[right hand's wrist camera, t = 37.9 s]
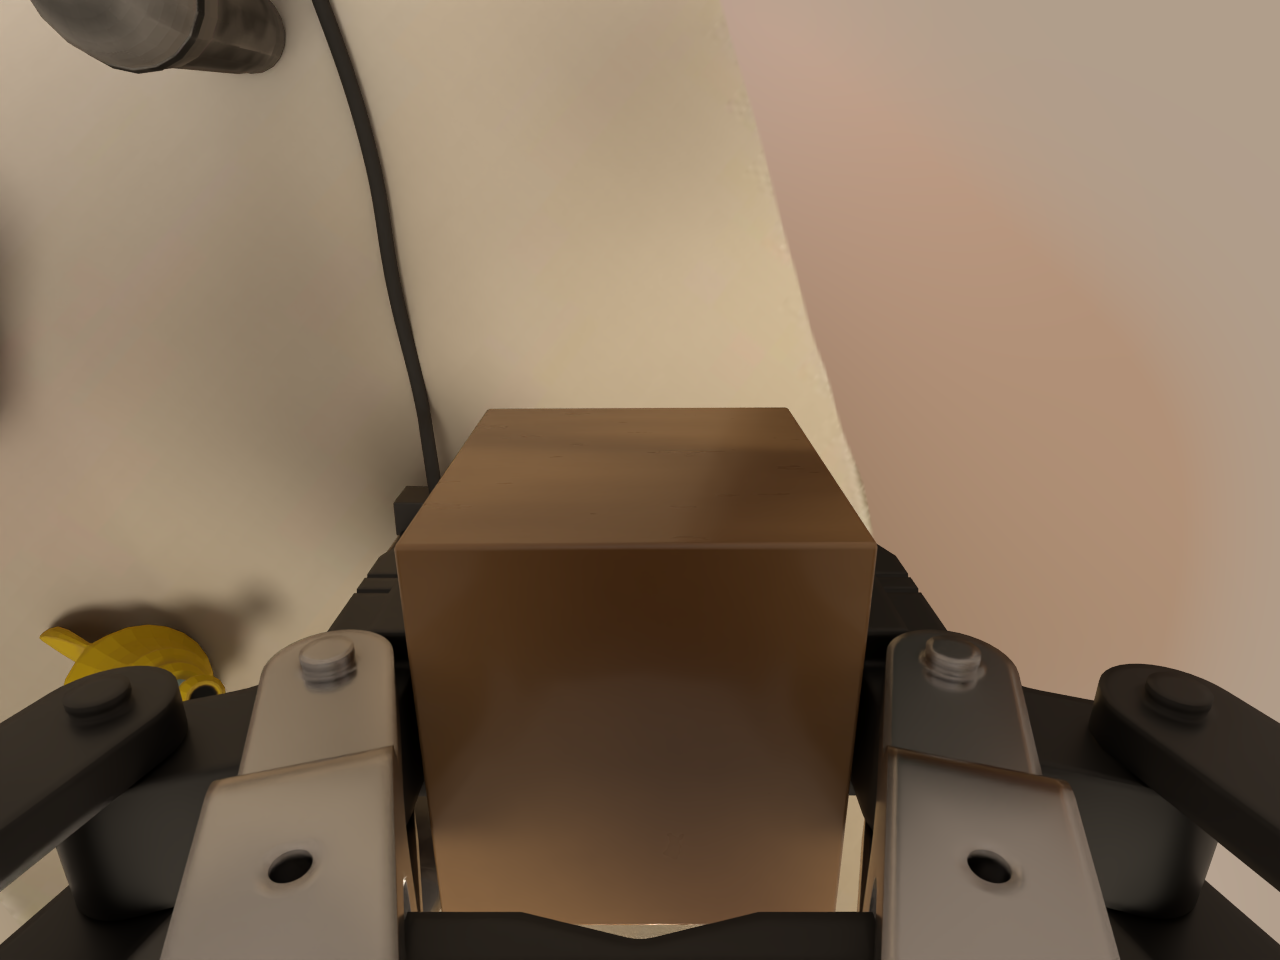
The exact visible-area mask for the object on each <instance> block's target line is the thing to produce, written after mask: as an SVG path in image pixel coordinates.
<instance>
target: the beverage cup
mask: <svg viewBox="0 0 1280 960" xmlns="http://www.w3.org/2000/svg"><path fill="white" fill-rule="evenodd" d="M31 2H32V3H33V5H34V6H35V8H36V9H37V11H38V13H39V14H40V16H41V17H42V18H43V19H44V20H45V21H46V22H47V23H48V24H49V25H50V26H51V27H52V28H53V29H54V30H55V31H57V32H58V33H59V34H60V35H61V36H62V37H63V38H64V39H65V40H66V41H67V42H68V43H70V44H71V45H73V46H75V47H76V48H78V49H80V50H82V51H84V52H85V53H87V54H88V55H90V56H92V57H94V58H95V59H97V60H99V61H101V62H103V63H104V64H106V65H108V66H110V67H112V68H114V69H119V70H123V71H128V72H133V73H137V74H140V73H147V72H154V71H162V70H164V69H169V68H178V69H189V70H200V71H211V72H222V73H233V74H243V73H250V74H253V73H261V72H264V71H266V70H268V69H269V68H271V67H273V66H274V64H275V63H276V62H277V61H278V59H279V58H280V56H281V54H282V51H283V48H284V38H285V32H284V28H283V23H282V19H281V17H280V15H279V13H278V12H277V10H276V8H275V6H274V5H273V4H272V3H271V2H270V1H269V0H31Z"/></svg>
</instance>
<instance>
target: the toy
mask: <svg viewBox="0 0 1280 960" xmlns="http://www.w3.org/2000/svg"><path fill="white" fill-rule="evenodd" d="M40 639H41V640H42V641H43V642H45V643H46V644H48V645H49V646H51V647H52V648H54V649H55V650H57V651H58V652H60V653H61V654H63V655H65V656H66V657H68V658H70V659H71V660H73V661H75V664H74V666H73V667H72V669H71V671H70V672H69V674H68V676H67V677H66V679H65V683H64V685H66V684H68V683H70V682H72V681H75V680H77V679H80V678H83V677H85V676H88V675H91V674H95V673H98V672H101V671H105V670H110V669H114V668H120V667H128V666H153V667H159V668H162V669H165V670H167V671H169V672H171V673H172V674H173V675H174V676H175V677H176V679H177V682H178V685H179V689H180V693H181V697H182V701H186V700H191V699H197V698H202V697H207V696H212V695H218V694H223V693H225V687H224V686H223V684H222V683H221V681H220V680H219V679H217V678H216V677H214V676H213V671H212V668H211V665H210V662H209V660H208V657H207V655H206V654H205V653H204V651H203V650H202V648H201V647H200V646H199V644H198V643H197V642H195V641H194V640H193V639H191V638H190V637H189V636H187V635H186V634H184V633H183V632H180V631H177V630H175V629H172V628H169V627H166V626H157V625H141V626H134V627H127V628H124V629H122V630H119V631H117V632H114V633H111V634H109V635H107V636H105V637H103V638H101V639H99V640H97V641H95V642H94V643H89V642H87V641H86V640H84V639H83V638H81V637H79V636H78V635H76V634H75V633H73V632H71V631H70V630H67V629H64V628H62V627H58V626H57V627H53V628H50V629H48V630H46V631H45V632H44V633H43V634H41V635H40Z"/></svg>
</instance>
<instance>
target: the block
mask: <svg viewBox="0 0 1280 960" xmlns="http://www.w3.org/2000/svg"><path fill="white" fill-rule="evenodd" d="M877 548H878V547H877V544H876V542H875V540H874V539H873V537H872V536H871V534H870V533H869V531H868V530H867V528H866V527H865V525H864V524H863V522H862V521H861V519H860V518H859V516H858V515H857V513H856V512H855V510H854V508H853V507H852V505H851V504H850V502H849V501H848V499H847V498H846V496H845V495H844V493H843V492H842V490H841V489H840V487H839V486H838V484H837V483H836V481H835V480H834V478H833V476H832V475H831V473H830V472H829V470H828V469H827V467H826V466H825V464H824V463H823V461H822V460H821V458H820V457H819V455H818V454H817V452H816V451H815V449H814V448H813V446H812V444H811V443H810V441H809V440H808V438H807V437H806V435H805V434H804V432H803V431H802V429H801V428H800V426H799V425H798V423H797V422H796V420H795V419H794V417H793V416H792V414H791V412H790V411H789V409H788V408H582V409H489V410H487V411H486V413H485V414H484V416H483V417H482V419H481V420H480V422H479V423H478V424H477V426H476V427H475V429H474V430H473V432H472V433H471V435H470V436H469V438H468V439H467V441H466V442H465V444H464V445H463V447H462V448H461V449H460V451H459V452H458V454H457V455H456V457H455V458H454V460H453V461H452V463H451V464H450V466H449V467H448V469H447V470H446V471H445V473H444V474H443V476H442V477H441V479H440V480H439V482H438V483H437V485H436V486H435V488H434V489H433V491H432V492H431V494H430V495H429V496H428V498H427V499H426V501H425V502H424V504H423V505H422V507H421V508H420V510H419V511H418V513H417V514H416V516H415V517H414V519H413V520H412V521H411V523H410V524H409V526H408V527H407V529H406V530H405V532H404V533H403V535H402V536H401V538H400V539H399V541H398V542H397V543H396V545H395V548H394V551H395V559H396V567H397V574H398V582H399V589H400V597H401V605H402V612H403V620H404V627H405V635H406V643H407V650H408V658H409V666H410V673H411V681H412V688H413V696H414V704H415V711H416V719H417V726H418V734H419V742H420V749H421V757H422V765H423V772H424V780H425V787H426V795H427V803H428V810H429V818H430V825H431V833H432V841H433V848H434V856H435V864H436V871H437V879H438V886H439V894H440V902H441V909H442V912H524V913H528V914H532V915H537V916H541V917H545V918H549V919H553V920H557V921H561V922H565V923H569V924H573V925H707V924H711V923H715V922H719V921H723V920H727V919H731V918H735V917H739V916H743V915H748V914H752V913H756V912H835V910H836V901H837V892H838V884H839V875H840V866H841V858H842V849H843V841H844V832H845V823H846V815H847V806H848V798H849V789H850V780H851V772H852V763H853V754H854V746H855V737H856V729H857V720H858V711H859V703H860V694H861V685H862V677H863V668H864V660H865V651H866V642H867V634H868V625H869V617H870V608H871V599H872V591H873V582H874V573H875V565H876V556H877Z"/></svg>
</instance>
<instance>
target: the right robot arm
mask: <svg viewBox="0 0 1280 960" xmlns="http://www.w3.org/2000/svg"><path fill="white" fill-rule="evenodd" d="M312 2H313V5H314V8H315V10H316V13H317V15H318V18H319V21H320V23H321V26H322V29H323V31H324V34H325V37H326V40H327V42H328V45H329V48H330V50H331V53H332V56H333V59H334V62H335V65H336V67H337V70H338V73H339V76H340V79H341V82H342V85H343V88H344V91H345V94H346V98H347V101H348V104H349V107H350V111H351V114H352V117H353V121H354V125H355V128H356V132H357V135H358V139H359V143H360V147H361V151H362V155H363V159H364V163H365V167H366V171H367V176H368V180H369V185H370V190H371V196H372V201H373V207H374V213H375V220H376V227H377V233H378V240H379V246H380V253H381V259H382V265H383V270H384V276H385V281H386V286H387V290H388V295H389V300H390V304H391V308H392V313H393V317H394V321H395V325H396V329H397V333H398V337H399V340H400V344H401V348H402V352H403V356H404V360H405V364H406V367H407V371H408V375H409V380H410V384H411V388H412V392H413V397H414V402H415V406H416V411H417V416H418V423H419V430H420V437H421V444H422V450H423V457H424V463H425V470H426V476H427V483H428V487H422V486H407V487H406V488H405V489H404V490H403V491H402V493H401V494H400V495H399V497H398V498H397V499H396V500H395V502H394V513H395V523H396V533H397V535H398V537H397V538H396V540H395V541H394V542H393V544H392V545H391V547H390V548H389V550H388V551H387V552H386V553H385V554H383V555H381V556H380V557H379V558H378V560H377V561H376V563H375V564H374V566H373V567H372V568H371V570H370V571H369V573H368V574H367V578H364V580H363V581H362V583H361V584H360V586H359V587H358V588H357V593H354V594H353V596H352V597H351V598H350V600H349V601H348V603H347V604H346V606H345V607H344V608H343V610H342V611H341V613H340V614H339V616H338V617H337V618H336V620H335V621H334V623H333V624H332V626H331V627H330V628H329V630H328V631H327V632H324V633H319V634H316V635H312V636H309V637H306V638H304V639H301V640H299V641H296V642H294V643H292V644H290V645H288V646H287V647H285V648H283V649H282V650H280V651H279V652H278V653H276V654H275V655H274V656H273V657H272V658H271V659H270V660H269V661H268V662H267V664H266V665H265V666H264V668H263V671H262V673H261V677H260V681H259V685H257V686H254V687H250V688H247V689H242V690H238V691H234V692H228V693H223V694H218V695H212V696H207V697H202V698H197V699H191V700H186V701H182V697H181V693H180V689H179V685H178V682H177V679H176V677H175V676H174V675H173V674H172V673H171V672H169V671H167V670H165V669H162V668H159V667H153V666H128V667H120V668H114V669H110V670H105V671H101V672H98V673H95V674H91V675H88V676H85V677H83V678H80V679H77V680H75V681H72V682H70V683H68V684H66V685H64V686H62V687H60V688H58V689H56V690H54V691H53V692H51V693H49V694H47V695H46V696H44V697H43V698H41V699H39V700H38V701H36V702H34V703H33V704H31V705H29V706H28V707H26V708H25V709H23V710H21V711H20V712H18V713H16V714H15V715H13V716H12V717H10V718H8V719H7V720H5V721H3V722H2V723H0V892H1V891H2V890H3V889H4V888H6V887H7V886H8V885H9V884H11V883H12V882H13V881H14V880H15V879H17V878H18V877H19V876H20V875H22V874H23V873H24V872H25V871H27V870H28V869H29V868H30V867H32V866H33V865H34V864H35V863H37V862H38V861H39V860H40V859H42V858H43V857H44V856H45V855H47V854H48V853H49V852H50V851H51V850H53V849H54V848H55V847H56V849H57V852H58V855H59V858H60V861H61V863H62V866H63V869H64V872H65V875H66V878H67V880H68V883H69V886H68V887H66V888H65V889H64V890H63V891H62V892H61V893H59V894H58V895H57V896H56V897H55V898H54V899H52V900H51V901H50V902H49V903H48V904H47V905H46V906H44V907H43V908H42V909H41V910H40V911H39V912H37V913H36V914H35V915H34V916H33V917H32V918H31V919H29V920H28V921H27V922H26V923H25V924H24V925H22V926H21V927H20V928H19V929H18V930H17V931H16V932H14V933H13V934H12V935H11V936H10V937H9V938H7V939H6V940H5V941H4V942H3V943H2V944H1V945H0V960H1280V945H1279V944H1278V943H1277V942H1276V941H1275V940H1274V939H1273V938H1271V937H1270V936H1269V935H1268V934H1267V933H1266V932H1264V931H1263V930H1262V929H1261V928H1260V927H1259V926H1257V925H1256V924H1255V923H1254V922H1253V921H1252V920H1251V919H1249V918H1248V917H1247V916H1246V915H1245V914H1244V913H1243V912H1241V911H1240V910H1239V909H1238V908H1237V907H1236V906H1234V905H1233V904H1232V903H1231V902H1230V901H1229V900H1227V899H1226V898H1225V897H1224V896H1223V895H1222V894H1221V893H1219V892H1218V891H1217V890H1216V889H1215V888H1214V887H1212V886H1211V885H1210V884H1209V883H1208V882H1207V881H1206V880H1205V877H1206V874H1207V872H1208V869H1209V866H1210V863H1211V860H1212V857H1213V854H1214V851H1215V849H1216V846H1217V843H1218V842H1219V843H1220V844H1221V845H1222V846H1224V847H1225V848H1226V849H1227V850H1228V851H1230V852H1231V853H1232V854H1233V855H1235V856H1236V857H1237V858H1238V859H1240V860H1241V861H1242V862H1243V863H1245V864H1246V865H1247V866H1248V867H1250V868H1251V869H1252V870H1253V871H1255V872H1256V873H1257V874H1258V875H1260V876H1261V877H1262V878H1263V879H1265V880H1266V881H1267V882H1268V883H1269V884H1271V885H1272V886H1273V887H1275V888H1276V889H1277V890H1278V891H1279V892H1280V723H1278V722H1277V721H1275V720H1273V719H1272V718H1270V717H1268V716H1267V715H1265V714H1263V713H1262V712H1260V711H1259V710H1257V709H1255V708H1254V707H1252V706H1250V705H1249V704H1247V703H1246V702H1244V701H1242V700H1241V699H1239V698H1237V697H1236V696H1234V695H1232V694H1231V693H1229V692H1228V691H1226V690H1224V689H1222V688H1221V687H1219V686H1217V685H1215V684H1213V683H1211V682H1209V681H1206V680H1204V679H1202V678H1199V677H1197V676H1194V675H1192V674H1189V673H1185V672H1182V671H1179V670H1175V669H1171V668H1167V667H1162V666H1156V665H1148V664H1125V665H1119V666H1115V667H1112V668H1110V669H1108V670H1106V671H1105V672H1104V673H1103V674H1102V675H1101V677H1100V680H1099V683H1098V687H1097V691H1096V696H1095V699H1094V701H1093V700H1088V699H1082V698H1077V697H1072V696H1067V695H1061V694H1056V693H1051V692H1045V691H1040V690H1036V689H1031V688H1027V687H1023V686H1022V685H1021V681H1020V677H1019V673H1018V671H1017V668H1016V666H1015V665H1014V663H1013V662H1012V661H1011V660H1010V659H1009V658H1008V657H1007V656H1006V655H1005V654H1004V653H1002V652H1001V651H1000V650H998V649H997V648H995V647H993V646H992V645H990V644H988V643H986V642H984V641H981V640H979V639H976V638H974V637H971V636H968V635H964V634H961V633H956V632H951V631H947V630H946V628H945V627H944V625H943V624H942V622H941V621H940V620H939V618H938V617H937V615H936V614H935V612H934V611H933V609H932V608H931V606H930V605H929V604H928V602H927V601H926V599H925V598H924V596H923V595H922V593H918V588H917V586H916V585H915V583H914V582H913V580H912V579H911V578H910V577H908V573H907V572H906V570H905V569H904V567H903V566H902V564H901V563H900V562H899V560H898V558H897V557H896V556H895V555H894V554H892V553H890V552H889V551H887V550H886V549H884V548H882V547H881V546H879V545H878V544H877V547H878V548H877V556H876V565H875V573H874V582H873V591H872V599H871V608H870V617H869V625H868V634H867V642H866V651H865V660H864V668H863V677H862V685H861V694H860V703H859V711H858V720H857V729H856V737H855V746H854V754H853V763H852V772H851V780H850V789H849V795H856V797H857V799H858V802H859V805H860V808H861V811H862V814H863V816H864V826H863V834H862V844H861V859H860V874H859V889H858V904H857V912H756V913H752V914H748V915H743V916H739V917H735V918H731V919H727V920H723V921H719V922H715V923H711V924H707V925H703V926H699V927H694V928H690V929H686V930H682V931H678V932H674V933H670V934H666V935H662V936H658V937H654V938H648V939H632V938H626V937H622V936H618V935H614V934H610V933H606V932H602V931H598V930H594V929H590V928H586V927H581V926H577V925H573V924H569V923H565V922H561V921H557V920H553V919H549V918H545V917H541V916H537V915H532V914H528V913H524V912H439V910H440V909H441V902H440V894H439V886H438V879H437V871H436V864H435V856H434V848H433V841H432V833H431V825H430V818H429V810H428V803H427V795H426V787H425V780H424V772H423V765H422V757H421V749H420V742H419V734H418V726H417V719H416V711H415V704H414V696H413V688H412V681H411V673H410V666H409V658H408V650H407V643H406V635H405V627H404V620H403V612H402V605H401V597H400V589H399V582H398V574H397V567H396V559H395V551H394V548H395V545H396V543H397V542H398V541H399V539H400V538H401V536H402V535H403V533H404V532H405V530H406V529H407V527H408V526H409V524H410V523H411V521H412V520H413V519H414V517H415V516H416V514H417V513H418V511H419V510H420V508H421V507H422V505H423V504H424V502H425V501H426V499H427V498H428V496H429V495H430V494H431V492H432V491H433V489H434V488H435V486H436V485H437V483H438V482H439V480H440V479H441V478H440V471H439V464H438V458H437V451H436V445H435V439H434V432H433V426H432V419H431V413H430V408H429V403H428V399H427V394H426V389H425V385H424V381H423V376H422V372H421V368H420V364H419V360H418V356H417V352H416V348H415V344H414V340H413V336H412V332H411V328H410V324H409V320H408V316H407V311H406V307H405V302H404V298H403V293H402V288H401V283H400V278H399V273H398V267H397V261H396V255H395V249H394V242H393V235H392V228H391V221H390V215H389V208H388V202H387V196H386V190H385V185H384V180H383V175H382V170H381V166H380V161H379V157H378V153H377V149H376V145H375V141H374V137H373V133H372V130H371V126H370V122H369V119H368V115H367V112H366V108H365V105H364V101H363V98H362V95H361V91H360V88H359V85H358V82H357V79H356V76H355V73H354V70H353V67H352V64H351V61H350V58H349V55H348V52H347V49H346V47H345V44H344V41H343V38H342V35H341V33H340V30H339V27H338V24H337V22H336V19H335V16H334V14H333V11H332V8H331V5H330V3H329V0H312Z"/></svg>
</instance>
